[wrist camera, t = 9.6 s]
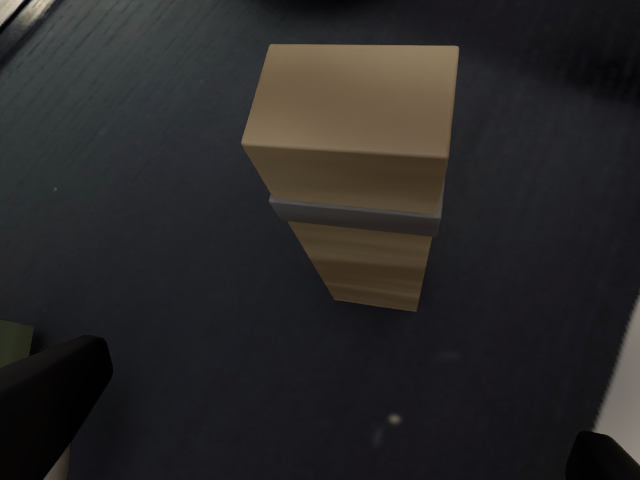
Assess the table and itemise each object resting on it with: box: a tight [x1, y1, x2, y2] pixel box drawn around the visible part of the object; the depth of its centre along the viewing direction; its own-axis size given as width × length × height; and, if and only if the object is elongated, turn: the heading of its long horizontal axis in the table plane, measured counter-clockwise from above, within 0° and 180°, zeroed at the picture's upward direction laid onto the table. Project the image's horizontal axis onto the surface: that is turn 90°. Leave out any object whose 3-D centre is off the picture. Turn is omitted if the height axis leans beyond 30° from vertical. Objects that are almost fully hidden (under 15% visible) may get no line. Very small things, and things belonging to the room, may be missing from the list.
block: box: [242, 44, 459, 312], centre depth 14 cm, size 3×4×14 cm, turn 79°
